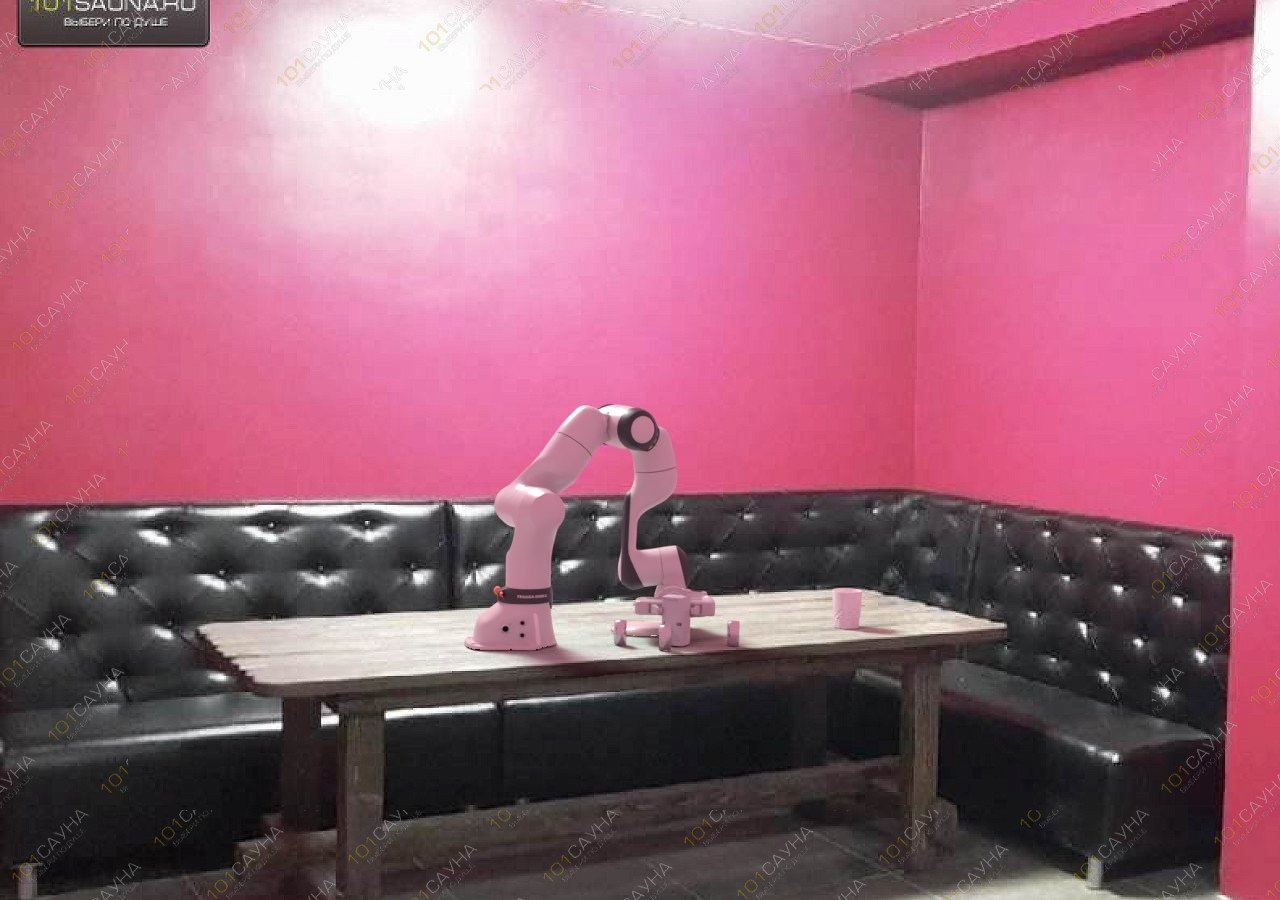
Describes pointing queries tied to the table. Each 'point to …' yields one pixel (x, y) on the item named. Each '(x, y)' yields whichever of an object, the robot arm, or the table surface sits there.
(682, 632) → the skincare box
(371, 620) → the table surface
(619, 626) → the posts
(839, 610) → the pink cup
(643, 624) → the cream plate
